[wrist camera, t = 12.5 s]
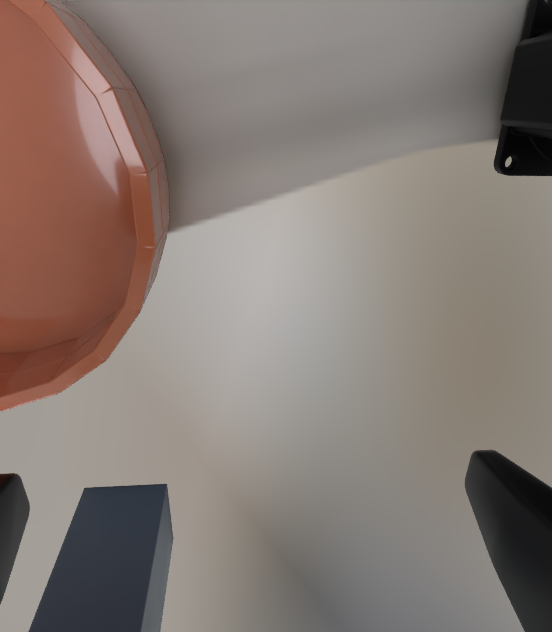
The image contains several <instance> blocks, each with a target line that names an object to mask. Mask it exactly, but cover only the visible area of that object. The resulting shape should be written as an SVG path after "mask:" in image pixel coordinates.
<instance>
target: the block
mask: <svg viewBox="0 0 552 632" xmlns="http://www.w3.org/2000/svg"><path fill="white" fill-rule="evenodd" d="M172 543H173V533H172V524H171V515H170V507H169V498H168V489H167V484H155V485H136V486H135V485H134V486H114V487H93V488H84V491H83V493H82V496H81V498H80V501H79V503H78V506H77V509H76V511H75V514H74V516H73V519H72V521H71V524H70V527H69V529H68V532H67V535H66V537H65V539H64V542H63V545H62V547H61V550H60V552H59V555H58V557H57V560H56V563H55V565H54V568H53V570H52V573H51V575H50V578H49V581H48V583H47V586H46V588H45V591H44V593H43V596H42V599H41V601H40V604H39V606H38V609H37V612H36V614H35V617H34V619H33V622H32V624H31V627H30V630H29V632H160V629H161V622H162V615H163V607H164V600H165V593H166V586H167V578H168V572H169V565H170V558H171V550H172Z"/></svg>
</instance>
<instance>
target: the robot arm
mask: <svg viewBox="0 0 552 632" xmlns="http://www.w3.org/2000/svg"><path fill="white" fill-rule="evenodd" d="M501 121H502V128H501V132H500V137H499V141H498V146H497V150H496V155H495V159H494V168H495V170H496V171H497V172H498V173H500V174H504V175H509V176H552V0H550V1H549V3H548V4H546V3H545V1H544V0H530V2H529V7H528V11H527V16H526V20H525V25H524V29H523V33H522V38H521V42H520V44H519V45H518V46H517V47H516V50H515V54H514V59H513V64H512V68H511V73H510V77H509V82H508V86H507V91H506V95H505V100H504V104H503V109H502V114H501ZM510 156H511V158H512V162H511V164H510V165H509V166H508V167H505V161H506V159H507V158H508V157H510ZM465 488H466V492H467V495H468V498H469V501H470V504H471V506H472V509H473V512H474V515H475V517H476V520H477V523H478V525H479V528H480V531H481V534H482V536H483V539H484V542H485V545H486V547H487V550H488V553H489V556H490V558H491V561H492V563H493V566H494V568H495V570H496V572H497V574H498V577H499V579H500V581H501V583H502V585H503V587H504V589H505V591H506V593H507V596H508V598H509V600H510V602H511V604H512V606H513V608H514V610H515V612H516V614H517V616H518V619H519V621H520V623H521V625H522V627H523V629H524V631H525V632H552V488H551V487H550V486H548V485H547V484H545V483H544V482H542V481H540V480H539V479H538V478H536V477H535V476H533V475H532V474H530V473H529V472H527V471H526V470H524V469H522V468H521V467H520V466H518V465H516V464H515V463H514V462H512V461H510V460H509V459H507V458H506V457H504V456H503V455H501V454H500V453H498V452H496V451H494V450H478V451H474V452H473V453H472V455H471V458H470V462H469V466H468V470H467V473H466V477H465ZM29 509H30V506H29V501H28V498H27V495H26V492H25V489H24V486H23V483H22V480H21V478H20V476H19V475H18V474H15V473H11V474H0V604H1V601H2V599H3V596H4V593H5V590H6V587H7V584H8V581H9V577H10V574H11V571H12V568H13V565H14V561H15V558H16V555H17V552H18V549H19V545H20V542H21V539H22V536H23V532H24V529H25V526H26V523H27V520H28V516H29V511H30V510H29Z"/></svg>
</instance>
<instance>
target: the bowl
mask: <svg viewBox="0 0 552 632" xmlns="http://www.w3.org/2000/svg"><path fill="white" fill-rule="evenodd" d="M168 227H169V188H168V181H167V175H166V168H165V162H164V157H163V155H162V151H161V148H160V144H159V140H158V137H157V134H156V132H155V129H154V127H153V124H152V122H151V119H150V117H149V114H148V112H147V110H146V107H145V106H144V104H143V102H142V100H141V98H140V96H139V94H138V92H137V91H136V88H135V87H134V85H133V84H132V82H131V80H130V79H129V77H128V76H127V74H126V73H125V72H124V70H123V69H122V67H121V66H120V64H119V63H118V62H117V60H116V59H115V57H114V56H113V54H112V53H111V52H110V51H109V50H108V49H107V47H106V46H105V45H104V44H103V43H102V42H101V41H100V39H99V38H98V37H97V36H96V35H95V34H94V32H93V31H92V30H91V29H90V27H89V26H88V25H87V24H86V23H85V22H84V21H83V20H82V19H81V18H79V17H78V16H77V15H76V14H74V13H73V12H72V11H71V10H69V9H68V8H67V7H66V6H65V5H64V4H63V3H62V2H60V1H59V0H0V411H4V410H7V409H10V408H14V407H17V406H20V405H23V404H26V403H29V402H33V401H36V400H40V399H43V398H46V397H49V396H53V395H56V394H58V393H60V392H62V391H63V390H65V389H66V388H68V387H69V386H71V385H72V384H73V383H75V382H76V381H78V380H79V379H80V378H82V377H83V376H85V375H86V374H88V373H89V372H91V371H92V370H93V369H95V368H96V367H98V366H99V365H100V364H102V363H103V362H105V361H106V360H107V359H108V358H109V357H110V355H111V353H112V352H113V351H114V349H115V348H116V346H117V345H118V343H119V342H120V340H121V339H122V338H123V336H124V335H125V333H126V332H127V330H128V329H129V328H130V326H131V324H132V323H133V321H134V320H135V319H136V317H137V316H138V314H139V313H140V311H141V309H142V307H143V304H144V302H145V300H146V298H147V295H148V293H149V291H150V289H151V287H152V284H153V282H154V280H155V278H156V275H157V271H158V267H159V263H160V260H161V256H162V253H163V249H164V245H165V241H166V237H167V231H168Z"/></svg>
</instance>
